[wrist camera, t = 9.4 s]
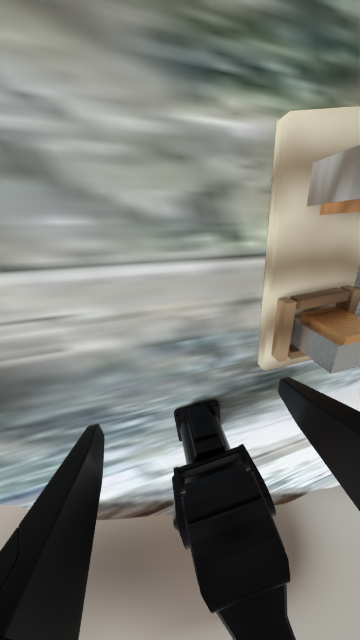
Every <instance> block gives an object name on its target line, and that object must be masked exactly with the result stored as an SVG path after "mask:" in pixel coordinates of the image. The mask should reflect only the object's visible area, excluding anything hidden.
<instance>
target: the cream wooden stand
mask: <svg viewBox="0 0 360 640" xmlns="http://www.w3.org/2000/svg"><path fill="white" fill-rule="evenodd" d="M359 267H360V106H355V107H341V108H327V109H313V110H299V111H290V112H288V113H287V114H286V115H285V116H283V117H282V118H281V119H280V120H278V121H277V124H276V136H275V149H274V162H273V174H272V187H271V200H270V212H269V225H268V238H267V251H266V263H265V276H264V289H263V301H262V314H261V327H260V339H259V352H258V365H259V366H260V367H261V368H262V369H263V370H264V371H266V370H270V369H274V368H278V367H282V366H287V365H291V364H295V363H299V362H303V361H308V360H312V359H311V358H310V357H308V356H307V355H306V354H304V353H303V352H302V351H300V350H299V349H298V348H296V347H295V346H294V345H292V344H291V343H290V340H291V334H292V328H293V322H294V316H297V315H301V313H305V312H310V311H315V310H320V309H325V308H330V307H334V306H335V307H338V308H340V309H343V310H345V311H348V312H350V313H353V314H355V311H356V308H357V305H358V302H359V299H360V288H357V287H354V284H355V281H356V277H357V274H358V271H359Z"/></svg>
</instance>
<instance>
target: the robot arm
mask: <svg viewBox="0 0 360 640" xmlns="http://www.w3.org/2000/svg"><path fill="white" fill-rule="evenodd" d="M278 392H279V395H280V397H281V398H282V400H283V402H284V403H285V405H286V407H287V408H288V410H289V412H290V413H291V415H292V417H293V419H294V420H295V422H296V423H297V425H298V426H299V428H300V429H301V431H302V432H303V433H304V435H305V436H306V437H307V439H308V440H309V442H310V443H311V444H312V446H313V447H314V449H315V450H316V451H317V453H318V454H319V455H320V457H321V458H322V460H323V461H324V462H325V464H326V465H327V467H328V468H329V469H330V471H331V472H332V474H333V475H334V476H335V478H336V479H337V480H338V482H339V483H340V485H341V486H342V487H343V489H344V490H345V492H346V493H347V494H348V495H349V497H350V498H351V500H352V501H353V502H354V504H355V505H356V507H357V508H358V509H359V511H360V411H357V410H355V409H353V408H351V407H349V406H347V405H345V404H343V403H341V402H339V401H337V400H335V399H333V398H331V397H329V396H327V395H325V394H323V393H321V392H319V391H316V390H314V389H312V388H310V387H308V386H306V385H304V384H302V383H300V382H298V381H296V380H294V379H292V378H290V377H285V378H281V379H280V381H279V388H278ZM174 417H175V422H176V427H177V432H178V437H179V441H182V443H183V448H184V453H185V458H186V463H187V465H184V466H181V467H175V468H174V476H173V477H172V483H173V491H174V514H173V523H174V527H175V529H177V531H178V532H180V536H181V538H182V541H183V544H184V547H185V549H186V550H187V549H190V548H191V552H192V557H193V562H194V566H195V572H196V576H197V580H198V584H199V587H200V592H201V595H202V597H203V599H204V601H205V602H206V604H207V606H208V608H209V610H210V612H211V613H214V612H216V613H217V614H218V616H219V618H220V619H221V621H222V622H223V624H224V625H225V627H226V628H227V630H228V632H229V633H230V635H231V636H232V638H233V640H296V639H295V637H294V634H293V631H292V628H291V625H290V623H289V620H288V616H287V591H286V590H287V588H286V583H288V582H290V571H289V562H288V558H287V555H286V553H285V549H284V546H283V543H282V541H281V538H280V536H279V533H278V531H277V528H276V526H275V523H274V521H273V518H272V517H274V516H276V511H275V507H274V504H273V501H272V498H271V496H270V493H269V491H268V489H267V486H266V484H265V482H264V480H263V478H262V476H261V475H260V473H259V471H258V469H257V468H256V466H255V464H254V462H253V460H252V459H251V457H250V455H249V453H248V452H247V450H246V448H245V446H244V445H243V444H241V445H239V446H238V447H235V448H233V449H231V448H230V446H229V443H228V441H227V439H226V436H225V434H224V431H223V429H222V426H221V424H220V404H219V402H218V401H217V400H215V401H211V402H206V403H202V404H198V405H194V406H190V407H186V408H182V409H178V410H175V411H174ZM103 459H104V434H103V432H102V429H101V427H100V425H99V424H93V425H90V426H88V427H87V428H86V430H85V431H84V433H83V434H82V436H81V437H80V438H79V440H78V441H77V443H76V444H75V446H74V447H73V448H72V450H71V451H70V453H69V454H68V456H67V457H66V458H65V460H64V461H63V463H62V464H61V466H60V467H59V468H58V470H57V471H56V473H55V474H54V476H53V477H52V478H51V480H50V481H49V483H48V484H47V486H46V487H45V488H44V490H43V491H42V493H41V494H40V496H39V497H38V498H37V500H36V501H35V503H34V504H33V506H32V507H31V508H30V510H29V511H28V513H27V514H26V516H25V517H24V518H23V520H22V521H21V523H20V524H19V528H16V530H15V531H14V533H13V534H12V535H11V537H10V538H9V540H8V541H7V542H6V544H5V545H4V547H3V548H2V549H1V551H0V640H78V638H79V631H80V625H81V618H82V611H83V605H84V598H85V591H86V585H87V578H88V571H89V564H90V558H91V551H92V545H93V538H94V531H95V524H96V518H97V511H98V505H99V498H100V491H101V485H102V476H103Z"/></svg>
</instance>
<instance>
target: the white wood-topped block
mask: <svg viewBox="0 0 360 640" xmlns="http://www.w3.org/2000/svg"><path fill="white" fill-rule="evenodd" d="M290 343H291V344H292V345H294V346H295V347H296V348H298V349H299V350H300V351H302V352H303V353H304V354H306V355H307V356H308V357H310V358H311V359H312V360H314V361H315V362H316V363H318V364H319V365H320V366H322V367H323V368H324V369H326V370H327V371H328V372H330V373H335V372H339V371H343V370H347V369H351V368H355V367H359V366H360V316H358V315H355V314H353V313H350V312H348V311H345V310H343V309H340V308H338V307H335V306H334V307H330V308H325V309H320V310H315V311H310V312H305V313H301V315H297V316H294V322H293V328H292V334H291V340H290Z"/></svg>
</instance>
